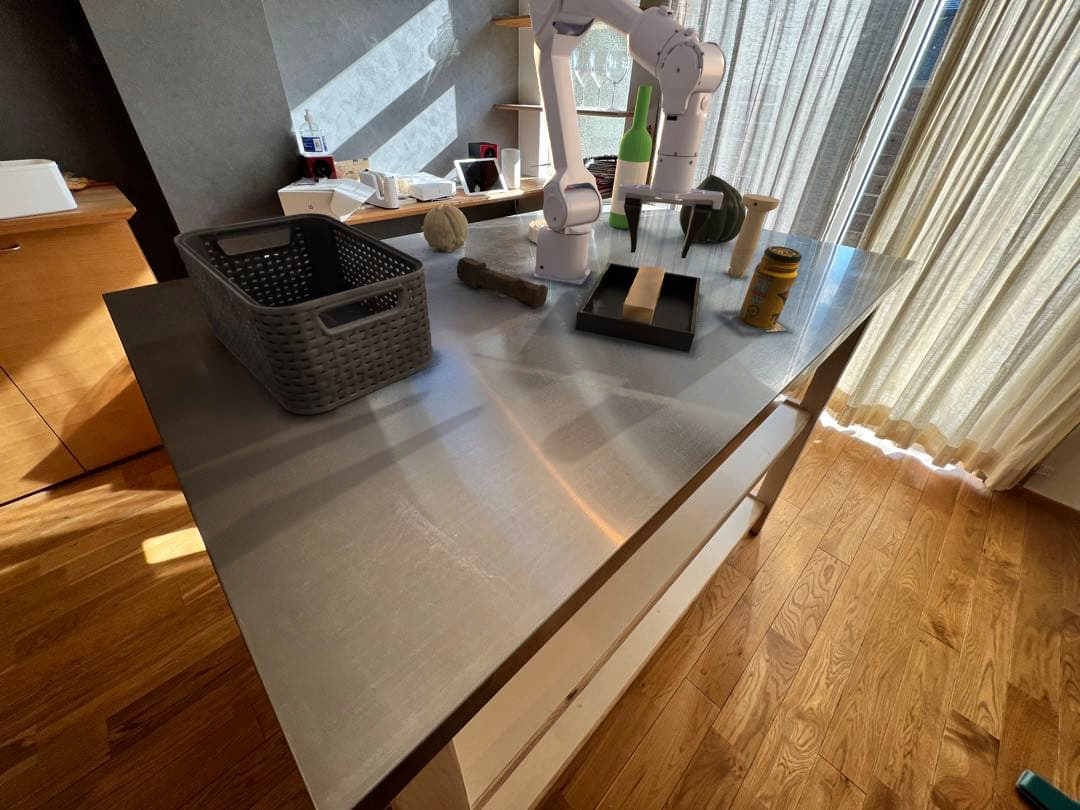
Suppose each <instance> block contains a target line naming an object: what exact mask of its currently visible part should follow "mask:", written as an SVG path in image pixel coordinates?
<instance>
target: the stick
mask: <svg viewBox="0 0 1080 810" xmlns="http://www.w3.org/2000/svg"><path fill="white" fill-rule="evenodd" d="M639 268H640V269H639V271H638V273H637V275H636V278H635V280H634V282H633V285H632V287H631V289H630V292H629V294H628V296H627V298H626V301H625V303H624V307H623V312H622V319H627V320H632V321H638V322H643V323H648V324H651V322H652V319H653V315H654V312H655V308H656V305H657V302H658V298H659V295H660V291H661V287H662V282H663V278H664V274H665V272H666V269H665V268H660V267H656V266H655V267H654V266H649V265H642V264H640V266H639Z"/></svg>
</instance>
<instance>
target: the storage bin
mask: <svg viewBox="0 0 1080 810" xmlns="http://www.w3.org/2000/svg"><path fill="white" fill-rule="evenodd" d="M287 229H289V234H288V235H289V237H288V238H289V239H288V242H286V243H281V244H277V245H271V246H265V247H260V248H255V249H250V250H245V251H239V252H233V253H228V252H226V251H225V249H224V248H223V247H222V246H221V245H220V243H219V241H223V240H228V239H229V240H230V239H235V238H242V237H247V236H255V235H259V234H266V233H271V232H272V233H273V232H277V231H284V230H287ZM302 241H303V242H302ZM173 243H174V245H175V247H176V248H177V249H178V252H179V255H180V258H181V260H182V262H183V263H184V266H185V269H186V272H187V275H188V276H189V279H191V283H192V285H193V287H194V291H195V292H196V294H197V296H198V299H199V302H200V304H201V307H202V308H203V310H204V313H205V315H206V318H207V321H208V322H209V324H210V327H211V329H212V333H213V335H214V336H215V337H216V338H217V339H218V341H220V342H221V343H222V344H223V346H224V347H225V348H226V349H227V350H228V351H229V352H230V353H231V354H232V355H233V356H234V357H235V358H236V359H237V360H238V361H239V362H240V364H241V365H243V367H245V369H247V371H248V372H249V373H250V374H251V375H252V376H253V377H254V378H255V379H256V380H257V381H258V382H259V383H260V384H261V386H263V387H264V388H265V389H266V390H267V391H268V393H270V394H271V395H272V396H273V398H275V399H276V400H277V402H279V404H280V405H281V406H282V407H283V408H284V409H285V410H287V411H289V412H290V413H293V414H296V415H316V414H320V413H325V412H328V411H331V410H333V409H335V408H337V407H340V406H342V405H344V404H347V403H349V402H351V401H353V400H356V399H359V398H360V397H363V396H364V395H367V394H369V393H372V392H374V391H376V390H379V389H381V388H383V387H386V386H388V385H390V384H393V383H394V382H396V381H399V380H401V379H404V378H406V377H409V376H410V375H413V374H415V373H417V372H419V371H422V370H424V369H425V368H428V367H429V365H431V364H432V363H433V360H434V348H433V344H432V333H431V319H430V313H429V309H430V308H429V303H428V290H427V286H426V285H427V284H426V273H425V271H426V269H425V263H424V262H423V261H422V260H421V259H420V258H418V257H416V256H414V255H412V254H410V253H408V252H405V251H403V250H401V249H399V248H397V247H395V246H393V245H391V244H389V243H387V242H384V241H382V240H381V239H378V238H377V237H374V236H373V235H370V234H368V233H366V232H364V231H362V230H360V229H359V228H356V227H354V226H352V225H349V224H347V223H345V222H344V221H341V220H340V219H337V218H335V217H333V216H331V215H328V214H325V213H317V212H305V213H295V214H288V215H283V216H277V217H270V218H264V219H257V220H250V221H243V222H236V223H230V224H224V225H223V224H222V225H217V226H209V227H202V228H196V229H195V228H194V229H191V230H187V231H183V232H182V233H179V234H177V235H176V236H174V238H173Z"/></svg>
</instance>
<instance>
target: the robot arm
mask: <svg viewBox="0 0 1080 810" xmlns="http://www.w3.org/2000/svg"><path fill="white" fill-rule="evenodd" d="M527 6H528V11H529V17H530V23H531V30H532V36H533V54H534V63H535V68H536V75H537V81H538V87H539V88H538V89H539V94H540V100H541V106H542V107H541V108H542V112H543V119H544V123H545V124H544V125H545V132H546V138H547V144H548V151H549V157H550V163H551V170H552V174H551V175H550V176H549V178H548V179H547V180H546V182H545V183H544V185H543V186H542V192H543V204H542V213H543V217H544V218H543V219H545V221H546V223H547V224H548V225H543V226H542V227H541V229H540V231H539V234H538V239H537V244H536V249H535V250H536V253H535V269H534V270H535V273H534V275H533V277H534V278H536V279H545V280H551V281H556V282H561V283H568V284H573V285H579V286H582V285H583V284H584V282H585V281H586V279H587V278H588V277H589V275H590V274H591V272H592V270H591V269H589V268H587V265H588V255H589V248H590V247H589V246H590V238H591V230H592V229H594V226H595V223H596V222H597V221H598V220H599V219H600V217H601V216H602V213H603V208H604V204H603V198H602V195H601V194H600V193H601V192H600V191H599V189H598V186H597V181H596V180H597V179H596V177H595V176H594V175H593V174H592V172H590V171H589V170H588V169H587V167H586V166H585V162H584V155H583V148H582V141H581V134H580V127H579V118H578V111H577V104H576V96H575V89H574V82H573V81H574V80H573V73H572V67H571V60H570V59H571V56H572V53H573V51H574V50H576V49H577V48H578V47H579V45H580V44H581V43H582V42H583V40H584V38H586V36H587V34H588V33H589V31H590V30H591V29H592V27H593V26H594V25H595V23H596V21H597V20H598V21H600V22H602V23H603V24H604V25H606V26H607V27H609V28H610V29H612V30H613V31H615V32H616V33H618V34H619V35H620V36H621V37H623V38H624V39H626V40H627V52H628V54H629V56H630V57H631V59H633V60H634V61H635V62H636V63H638V64H639V65H640V66H641V67H642V68H644V69H645V70H646V71H647V72H648V73H649V74H651V76H653V77H654V78H656V79H657V80H658V83H659V84H658V85H659V87H660V90H661V93H662V102H661V107H660V108H661V109H662V115H661V122H660V126H659V127H660V128H659V132H658V133H659V134H658V139H657V145H656V150H655V151H656V152H655V155H654V156H655V157H654V163H653V169H652V176H651V181H650V184H645V185H631V184H621V185H620V186H619V193H618V200H621V201H625V204H624V211H625V214H626V217H627V221H628V225H629V229H628V230H629V236H630V253H634V254H635V253H636V252H637V248H638V242H639V241H638V239H639V228H640V221H641V216H642V209H643V203H655V204H667V205H679V206H682V205H688V206H693V207H692V212H691V217H690V222H689V226H688V231H687V235H686V236H685V239H684V241H683V244H682V249H681V254H680V258H681V259H687V256H688V253H689V251H690V249H691V247H692V244H693V242H694V239H695V237H696V236H697V234H698V232H699V231H700V229H701V228H702V227H703V225H704V224H705V223H706V221H707V220H708V219H709V217H710V215H711V212H712V211H711V209H720V207H721V203H722V199H723V193H722V192H714V191H706V190H699V189H696V188H692V187H693V183H694V178H695V173H696V169H697V164H698V161H699V155H700V151H701V146H702V142H703V136H704V132H705V127H706V122H707V119H708V114H709V108H710V105H711V100H712V95H714V94H715V93H716V92H717V91H718V90H719V88H720V87H721V85H722V83H723V81H724V79H725V75H726V72H727V58H726V55H725V52H724V51H723V49H722V48H720V46H719V44H718V42H715V41H705V42H700V40H699V38H698V36H699V30H697V29H696V28H694V27H688V28H686V27H685V26H683V25H682V24H681V23H680V22H679V21H677V20H675V18H673V15H674V13H675V12H674V10H673V9H672V8H670V7H669V6H667V5H663V4H662V5H660V6H659V7H658V6H651V7H649V8H647V9H645V10H643V9H641V8H640V7H639V6H638V5H636V4H635V2H634V1H633V0H527Z"/></svg>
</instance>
